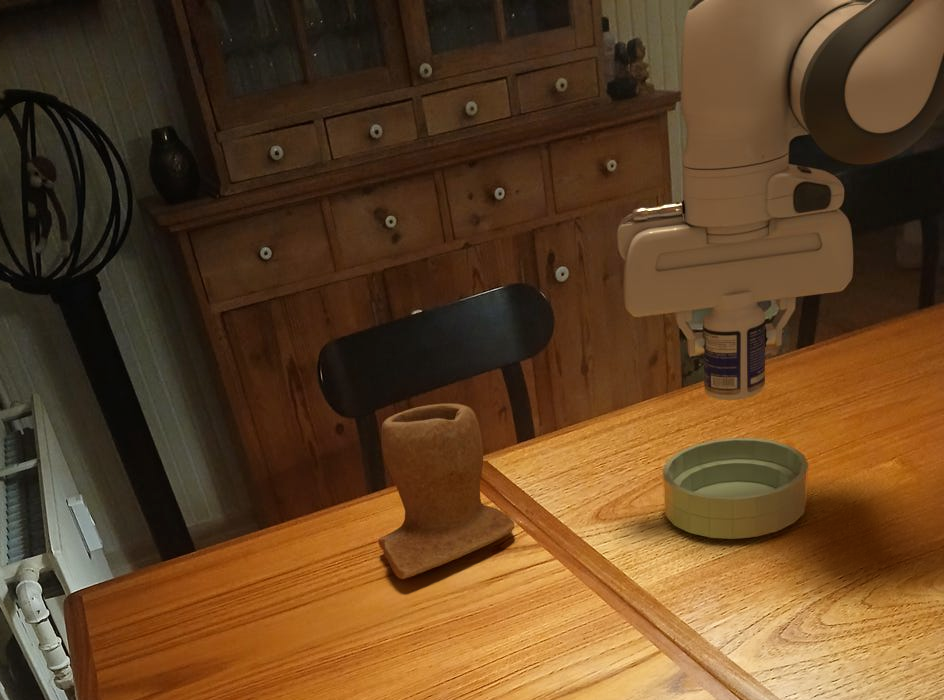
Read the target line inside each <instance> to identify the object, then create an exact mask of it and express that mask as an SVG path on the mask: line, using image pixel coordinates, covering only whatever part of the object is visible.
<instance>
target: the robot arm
mask: <svg viewBox="0 0 944 700" xmlns="http://www.w3.org/2000/svg"><path fill="white" fill-rule="evenodd" d="M682 31H683V32H682V39H681V52H680V53H681V56H680V109H681V115H682V117H683V120H684V125H685V131H686V132H685V133H686V138H685V139H686V140H685V146H684V151H683V155H682V189H683V190H682V198H683V200H682V201H676V202H670V203H664V204H660V205H657V206H651V207H650V206H649V207H648V206H645V207H644V206H642V207H637V208H635V209H632V211H631V213H630V214H628V215H625V217H623V218H622V219H621V221H620V222H619V223H618V226H617V229H616V249H617V253H618V256H619V257H620V258H621V259H622V260H623V261H624V268H623V304H624V308H625V310H626V311H627V312H628V313H629V314H630V315H631V316H632V317H634V318H640V317H641V318H642V317H649V316H658V315H665V314H672V313H674V318H675V321H676V324H677V326H678V328H679V329H680V330H681V331H682V333H683V335H684V336H685V337H686V339H687V341H686V343H687V344H686V345H687V354H688V357H696V356H697V357H698V356H704V355H705V348H704V345H705V337H704V335H703V331H699V332H694V330H693V328H692V327H691V325H690V324H689V323H690V322H692V321H693V311H696V310H704V309H711V308H713V307H718V306H719V305H720V302H721V297H722V296H723V295H730V294H736V293H742V292H749V291H752V296H753V299H754V301H755V302H757V303H760V302H769V301H775V304H776V306H777V307H778V311H777V312H776V314H775V316H774V318H773V320H772V321H771V322H770V323H765V348H772V347H780V346H782V343H783V328H785V326H786V325H787V323H788V321H789V320H790V318H791V317H792V315H793V313H794V312H795V311H796V303H797V301H796V300H797V299H796V298H799V297H808V296H815V295H823V294H829V293H830V294H831V293H840V292H842V291H844V290H845V289H846V288H847V286H848V285H849V284H850V283H851V281H852V279H853V274H854V244H853V234H852V227H851V223H850V220H849V218H848V216H847V215H846V214H845V213H844V212H843V211H842V210H841V209H840V208H841V206H842V205H843V203H844V199H845V188H844V187H845V186H844V185H843V183H842V182H841V180H840V179H839V178H838V177H836V176H835V175H833V174H832V173H830V172H828V171H826V170H823V169H820V168H814V167H809V166H802V165H798V164H797V165H796V164H791V163H789V159H790V155H789V154H790V143H791V141H792V140H793V139H794V138H796V137H799V136H806V135H807V136H808V135H810V136H811V138H812V140H813V141H814V143H815V144H816V145H817V146H818V147H819V148H820V149H821V150H822V152H824V153H825V154H827V155H828V156H829V157H831V158H832V159H835V160H836V161H839V162H842V163H846V164H852V165H868V164H875V163H879V162H883V161H886V160H888V159H892V158H894V157H895V156H897V155H900V154H901V153H903V152H904V151H906V150H907V149H909V148H910V147H911V146H913V145H914V144H915V143H917V141H919V140H920V139H921V138H922V137H923V136H924V135H925V134H926V132H927V131H928V130H929V129H930V128H931V126H932V125H933V123H935V121H936V119H937V117H938V116H939V114H940V113H941V111H942V109H943V107H944V0H871V1H870V2H864V1H859V0H693V2H692V4H691V5H690V7H689V9H688V10H687V13H686V17H685V20H684V25H683V30H682ZM631 220H632V221H631Z"/></svg>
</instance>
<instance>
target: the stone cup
mask: <svg viewBox="0 0 944 700" xmlns="http://www.w3.org/2000/svg"><path fill="white" fill-rule="evenodd" d="M380 439H381V442H380V443H381V450H382V451H381V452H382V457H383V459H384V463H385V466H386V468H387V469H388V472H389V474H390V476H391V479H392V481H393V484H394V485H395V488H396V490H397V492H398V494H399V499H400V500H401V502H402V506H403V509H404V520H403V522H402V524H401V526H399V527H398V528H396V529H395V530H393V531H391V532H390V533H387V534H385V535H383V536H381V537H379V539H378V541H377V543H378V545H379V547H380V549H381V550H382V551H383V555H384V558H385V559H386V560H387V563H388V564H389V565H390V568H391V570H392V572H393V573H394V575H395V576H396V577H397V579H401V580H405V579H409V578H411V577H414V576H417V575H419V574H422V573H424V572H427V571H430V570H431V569H434V568H437V567H441V566H442V565H445V564H447V563H449V562H451V561H454V560H457V559H459V558H461V557H463V556H466V555H468V554H471V553H472V552H475V551H477V550H479V549H482V548H484V547H486V546H488V545H490V544H492V543H494V542H497V541H498V540H500V539H502V538H504V537H506V536H508V535H509V534H510V533H512V532H513V530H514V529H515V522H514V520H513V519H512V518H511V517H510V516H509V515H508V514H507V513H505V512H503V511H502V510H500V509H499V508H496V507H493V506H490V505H485V504H483V503H482V499H481V480H482V474H483V467H484V444H483V437H482V432H481V427H480V424H479V421H478V417H477V415H476V413H475V411H474V410H473V409H472V408H471V407H470V406H467V405H464V404H459V403H435V404H427V405H422V406H421V405H420V406H417V407H413V408H409V409H406V410H404V411H401V412H398V413H396V414H393V415H391V416H389V417H387V418H386V419H384V421H383V423H382V426H381V438H380Z"/></svg>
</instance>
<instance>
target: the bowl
mask: <svg viewBox="0 0 944 700" xmlns="http://www.w3.org/2000/svg"><path fill="white" fill-rule="evenodd" d="M808 483H809V461H808V460H807V458H806V457H805V455H804V454H803V453H802V452H800V451H799V450H798V449H797V448H795V447H793V446H791V445H788V444H785V443H783V442H779V441H777V440H771V439H764V438H757V437H730V438H721V439H714V440H709V441H705V442H701V443H697V444H693V445H691V446H688V447H685V448H684V449H682V450H679V451H678V452H676V453H675V454H673V455H672V456H671V457H670V458H668V459H667V461H666V462H665V464H664V466H663V468H662V489H663V508H664V514H665V518H666V519H668V520H669V522H671V523H672V525H673V526H674V527H676V528H677V529H681V530H683V531H685V532H687V533H688V534H692V535H698V536H702V537H705V538H711V539H723V540H738V539H750V538H756V537H757V538H758V537H760V536H764V535H768V534H772V533H776V532H779V531H780V530H783V529H785V528H787V527H789V526H791V525H793V524H795V523H796V522H797V521H798V520H799V519H800V518H801V517H803V515H804V514H805V510H806V507H807V504H808Z"/></svg>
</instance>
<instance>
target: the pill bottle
mask: <svg viewBox="0 0 944 700" xmlns="http://www.w3.org/2000/svg"><path fill="white" fill-rule="evenodd" d="M765 324H766V314H765V311H764V310H763V309H762V307H760V306H759V305H758V302H755V301H754V299H753V296H752V291H749V292H742V293H736V294H730V295H723V296H722V297H721V302H720V305H719V306H718V307H713V308H710V310H708V312H707V313H706V314H705V315H704V316H703V319H702V332H703V335H704V337H705V345H704V348H705V355H703V388H704V392H705V393H706V395H707V396H709V397H710V398H713V399H715V400H721V401H739V400H744V399H748V398H752V397H754V396H756V395H758V394H760V393H761V392H762V390H764V388H765V384H766V347H765Z"/></svg>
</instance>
